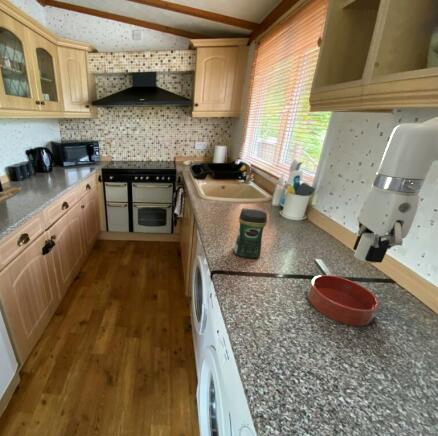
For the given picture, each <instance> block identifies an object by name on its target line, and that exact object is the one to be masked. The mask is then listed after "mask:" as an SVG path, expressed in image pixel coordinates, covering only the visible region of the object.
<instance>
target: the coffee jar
mask: <svg viewBox="0 0 438 436" xmlns="http://www.w3.org/2000/svg"><path fill="white" fill-rule="evenodd" d="M238 221H239V228H238V232H237V236H236V240H235V242H234V243H235V244H234V247H233V249H234V253H235V255H237V256H239V257H243V258H249V259H258V258H259V257H261V252H262V240H263V232H264V229H265V227H266V226H267V223H268V213H267V211H266V210H265V209H255V208H245V207H243V208H242V209H241V210H240V214H239V216H238Z"/></svg>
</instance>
